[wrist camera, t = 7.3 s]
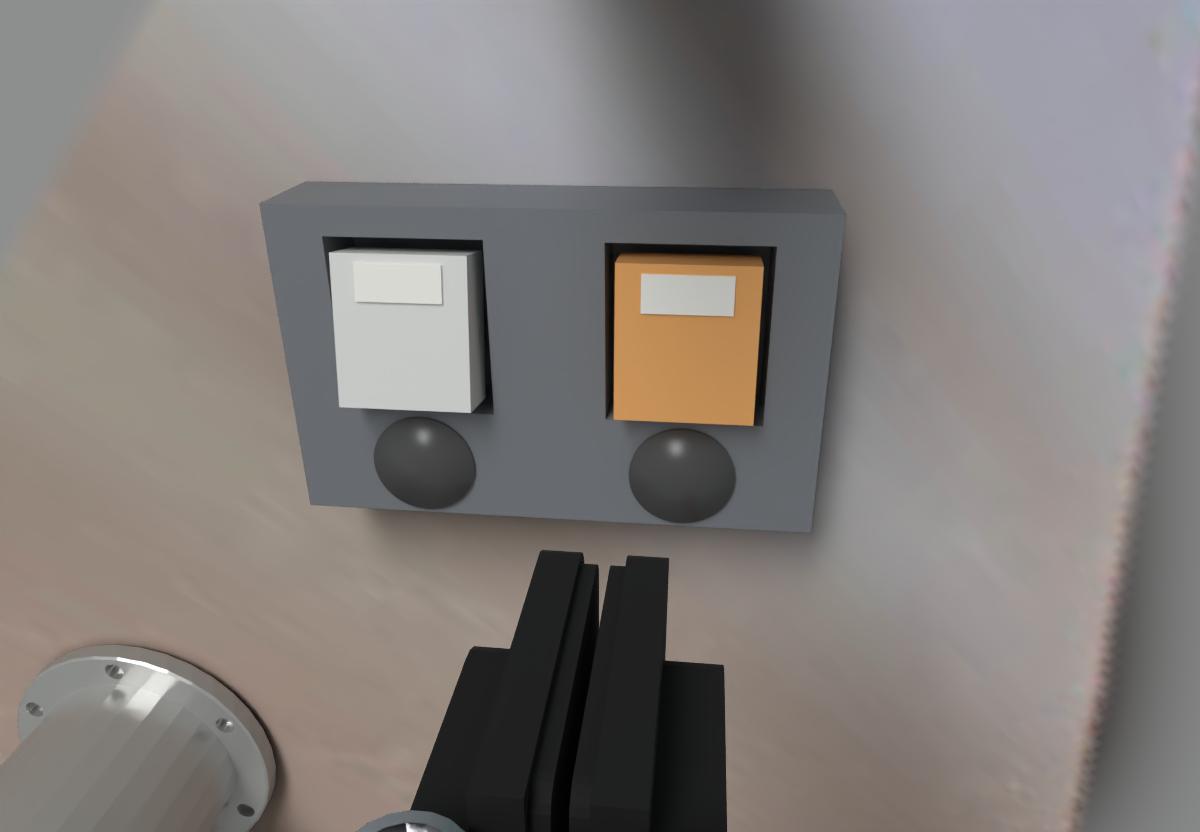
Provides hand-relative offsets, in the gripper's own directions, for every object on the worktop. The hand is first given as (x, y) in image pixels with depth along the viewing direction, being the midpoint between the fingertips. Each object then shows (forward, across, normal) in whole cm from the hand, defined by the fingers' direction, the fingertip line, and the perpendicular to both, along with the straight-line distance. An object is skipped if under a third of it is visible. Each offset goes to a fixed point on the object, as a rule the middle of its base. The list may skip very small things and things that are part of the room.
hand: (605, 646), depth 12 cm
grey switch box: (+21, +4, +4) cm, 22 cm away
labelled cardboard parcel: (+18, -1, +2) cm, 18 cm away
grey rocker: (+18, +8, +2) cm, 20 cm away
